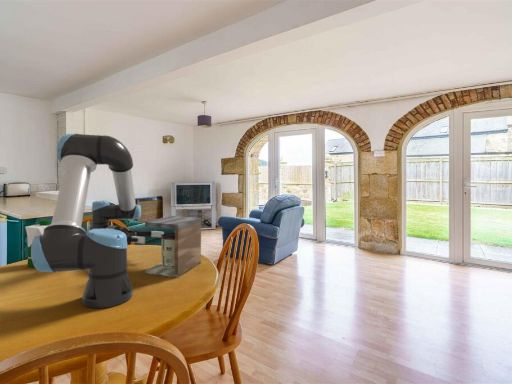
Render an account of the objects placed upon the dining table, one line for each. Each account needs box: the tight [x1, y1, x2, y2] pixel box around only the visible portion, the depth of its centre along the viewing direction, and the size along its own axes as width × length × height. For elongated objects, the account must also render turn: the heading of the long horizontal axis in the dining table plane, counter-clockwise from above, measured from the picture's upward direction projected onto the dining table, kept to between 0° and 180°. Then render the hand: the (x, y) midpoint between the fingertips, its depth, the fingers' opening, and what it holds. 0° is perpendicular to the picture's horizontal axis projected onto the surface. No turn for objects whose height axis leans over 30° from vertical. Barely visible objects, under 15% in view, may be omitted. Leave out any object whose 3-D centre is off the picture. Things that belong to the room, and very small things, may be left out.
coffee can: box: [160, 232, 175, 269], centre depth 128 cm, size 10×10×14 cm
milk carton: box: [24, 219, 52, 268], centre depth 127 cm, size 9×9×20 cm
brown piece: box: [144, 215, 202, 278], centre depth 128 cm, size 16×20×22 cm
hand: (154, 237), depth 131 cm, fingers open, 13 cm apart
